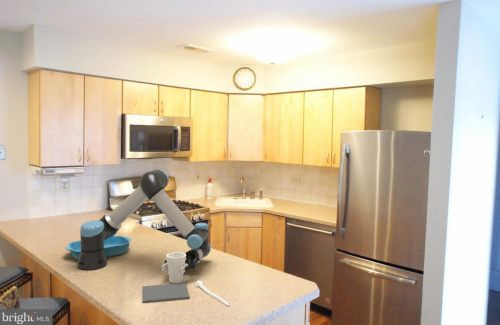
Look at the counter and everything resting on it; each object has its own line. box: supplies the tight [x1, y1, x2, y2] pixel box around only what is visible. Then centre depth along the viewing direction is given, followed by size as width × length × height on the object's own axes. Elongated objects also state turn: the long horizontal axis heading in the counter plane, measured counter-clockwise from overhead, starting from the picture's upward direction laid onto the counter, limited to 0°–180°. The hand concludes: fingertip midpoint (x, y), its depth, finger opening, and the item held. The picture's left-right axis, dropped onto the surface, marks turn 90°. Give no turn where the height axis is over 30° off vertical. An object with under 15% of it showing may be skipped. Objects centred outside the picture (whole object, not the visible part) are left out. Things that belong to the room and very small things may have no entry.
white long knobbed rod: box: [194, 280, 230, 307], centre depth 176 cm, size 28×4×3 cm, turn 39°
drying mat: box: [142, 282, 190, 304], centre depth 176 cm, size 20×16×1 cm
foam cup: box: [165, 251, 186, 284], centre depth 190 cm, size 10×9×13 cm
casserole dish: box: [65, 235, 132, 261], centre depth 229 cm, size 37×22×7 cm, turn 126°
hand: (171, 269), depth 186 cm, fingers closed on foam cup, 9 cm apart
